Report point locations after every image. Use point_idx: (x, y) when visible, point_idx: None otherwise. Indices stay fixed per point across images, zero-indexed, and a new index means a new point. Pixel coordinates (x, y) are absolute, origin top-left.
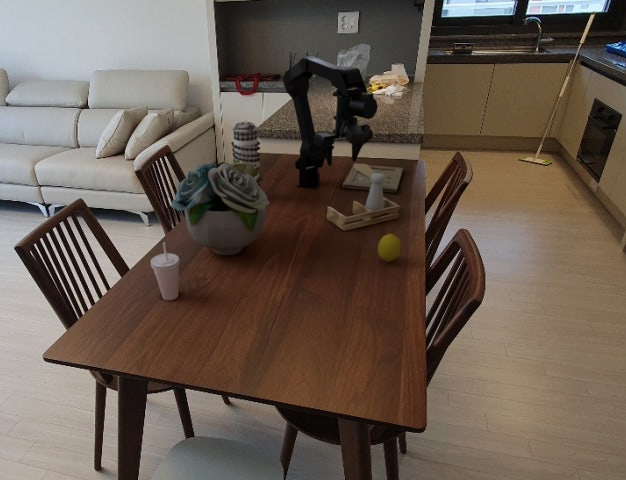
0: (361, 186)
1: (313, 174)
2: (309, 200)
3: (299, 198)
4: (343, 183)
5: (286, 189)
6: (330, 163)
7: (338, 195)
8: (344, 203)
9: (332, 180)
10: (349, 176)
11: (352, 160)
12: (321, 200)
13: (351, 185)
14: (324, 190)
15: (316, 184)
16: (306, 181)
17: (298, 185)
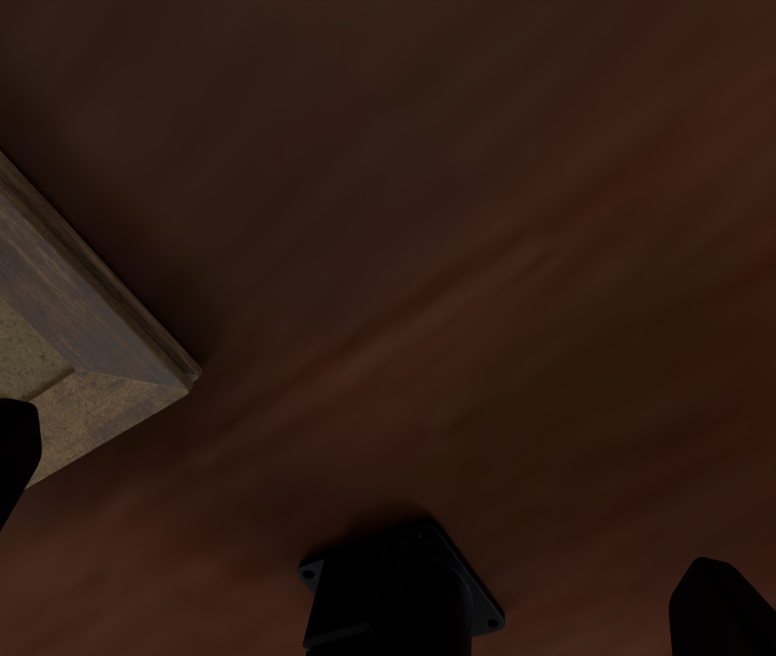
0: (41, 229)
1: (398, 646)
2: (704, 367)
3: (725, 457)
4: (172, 398)
5: (621, 630)
6: (761, 611)
7: (367, 269)
8: (494, 47)
9: (166, 528)
10: None
11: (36, 465)
12: (616, 290)
13: (126, 318)
14: (385, 436)
15: (385, 541)
16: (461, 614)
17: (503, 618)
